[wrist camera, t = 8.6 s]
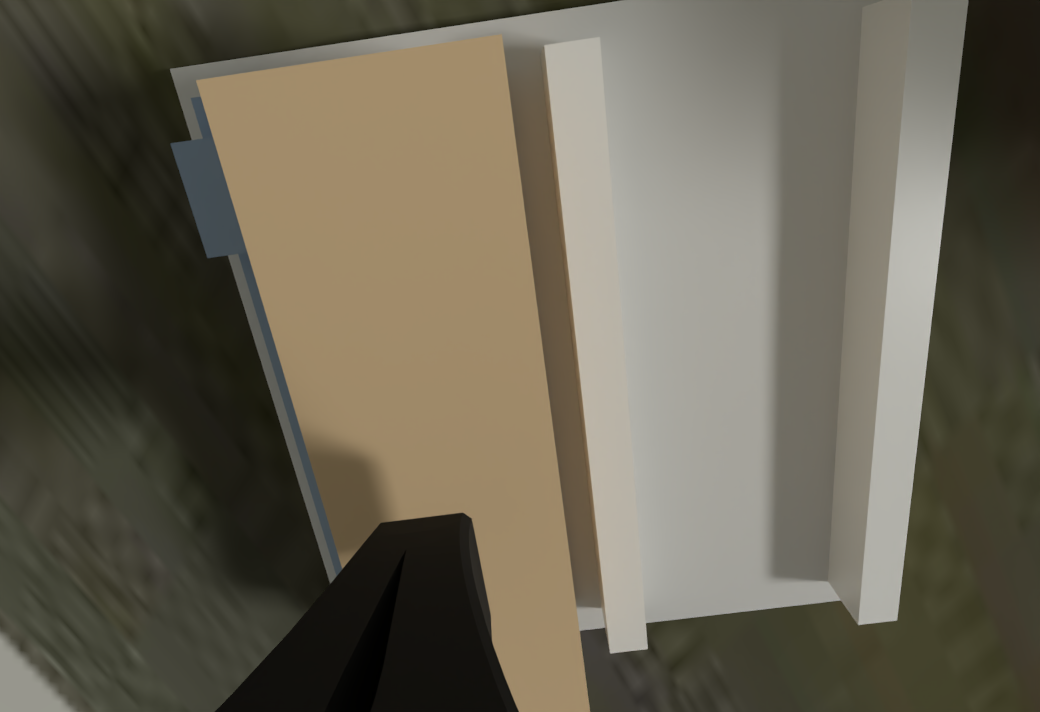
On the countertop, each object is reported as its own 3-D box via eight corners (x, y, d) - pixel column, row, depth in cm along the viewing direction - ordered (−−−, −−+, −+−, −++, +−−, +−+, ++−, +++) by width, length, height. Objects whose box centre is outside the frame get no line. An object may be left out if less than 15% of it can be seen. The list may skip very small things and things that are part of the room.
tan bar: (574, 602, 17) (598, 777, 13) (437, 618, 17) (411, 798, 13) (504, 69, 12) (501, 34, 8) (314, 97, 12) (196, 81, 8)
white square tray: (884, 579, 18) (958, 669, 15) (357, 641, 18) (328, 740, 15) (947, -44, 12) (1089, -99, 9) (184, 71, 13) (85, 54, 10)
